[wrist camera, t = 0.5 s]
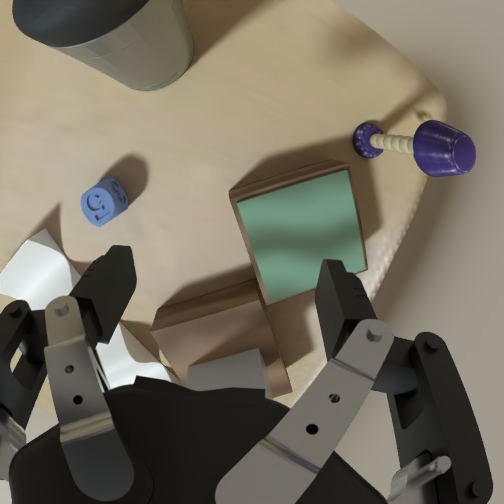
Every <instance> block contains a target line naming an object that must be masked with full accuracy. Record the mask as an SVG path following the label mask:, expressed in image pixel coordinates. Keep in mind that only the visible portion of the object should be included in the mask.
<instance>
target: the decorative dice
mask: <svg viewBox="0 0 504 504" xmlns="http://www.w3.org/2000/svg"><path fill="white" fill-rule="evenodd" d="M128 205H129V203H128V198H127V195H126V193H125V191H124V189H123V187H122V186H121V184H120V183H119V182H118V181H117V180H116V179H114V178H111V177H109V178H107V179H105V180H103V181H101V182H100V183H98V184H96V185H95V186H93V187H92V188H90V189H89V190H88V191H86V192H85V193H84V194H83V195H82V197H81V208H82V211H83V213H84V215H85V217H86V218H87V220H88V221H89V222H90V223H91V224H93V225H95V226H98V227H101V226H102V225H104V224H105V223H107V222H108V221H110V220H111V219H113V218H114V217H116V216H117V215H119V214H120V213H122V212H123V211H125V210H126V209H128Z"/></svg>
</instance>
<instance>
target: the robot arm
mask: <svg viewBox="0 0 504 504" xmlns="http://www.w3.org/2000/svg"><path fill="white" fill-rule="evenodd" d="M12 12H13V18H14V22H15V24H16V26H17V27H18V28H19V30H20V31H21V32H22V33H24V34H25V35H27V36H28V37H30V38H32V39H34V40H36V41H39V42H41V43H43V44H45V45H47V46H49V47H51V48H54V49H56V50H58V51H60V52H62V53H64V54H66V55H69V56H71V57H73V58H75V59H77V60H79V61H81V62H83V63H85V64H87V65H89V66H91V67H93V68H94V69H96V70H98V71H100V72H102V73H104V74H106V75H108V76H110V77H111V78H113V79H115V80H117V81H119V82H121V83H122V84H124V85H126V86H128V87H130V88H132V89H135V90H140V91H151V90H157V89H160V88H163V87H165V86H167V85H169V84H171V83H173V82H174V81H176V80H177V79H178V78H179V77H180V76H181V75H182V74H183V73H184V72H185V71H186V69H187V68H188V66H189V65H190V63H191V60H192V58H193V52H194V43H193V39H192V35H191V32H190V28H189V24H188V21H187V17H186V14H185V10H184V7H183V3H182V0H13V6H12ZM136 283H137V277H136V271H135V266H134V260H133V254H132V249H131V247H130V246H122V245H113V246H112V247H111V248H110V249H109V250H108V252H107V253H106V254H105V256H101V257H99V258H98V259H96V260H95V261H93V262H92V264H91V265H90V266H89V268H88V269H87V270H86V272H85V273H84V274H83V277H81V278H80V280H79V281H78V282H77V284H76V285H75V286H74V288H73V289H72V291H71V292H70V293H69V295H68V296H60V297H57V298H55V299H53V300H52V301H51V302H49V304H48V305H47V306H46V308H45V309H42V310H31V308H30V306H29V304H28V302H27V301H25V300H16V301H13V302H11V303H10V304H8V305H7V306H6V307H5V308H4V310H3V311H2V312H1V314H0V480H6V481H8V482H9V485H10V490H11V497H12V504H487V503H488V501H489V499H490V498H491V495H492V492H493V481H492V476H491V472H490V468H489V463H488V460H487V456H486V452H485V448H484V445H483V441H482V438H481V434H480V431H479V428H478V425H477V422H476V419H475V416H474V413H473V410H472V407H471V404H470V401H469V399H468V396H467V393H466V391H465V388H464V385H463V383H462V380H461V378H460V375H459V373H458V371H457V368H456V366H455V363H454V361H453V359H452V357H451V354H450V352H449V350H448V348H447V346H446V343H445V342H444V341H443V340H442V338H440V337H439V336H438V335H436V334H434V333H431V332H422V333H419V334H418V335H417V336H416V338H415V339H414V341H412V340H407V339H403V338H398V337H395V336H394V334H393V332H392V330H391V328H390V327H389V326H388V325H386V324H385V323H383V322H382V321H379V320H377V317H376V315H375V312H374V310H373V308H372V305H371V303H370V300H369V298H368V297H367V293H366V291H365V290H364V287H363V284H362V282H361V280H360V279H359V278H358V277H357V276H356V275H355V274H354V273H353V272H347V271H346V269H345V266H344V264H343V262H342V260H336V259H323V261H322V264H321V268H320V273H319V277H318V282H317V286H316V291H315V304H316V309H317V313H318V318H319V322H320V327H321V332H322V337H323V342H324V347H325V352H326V357H327V362H328V363H327V364H326V365H325V367H324V368H323V369H322V371H321V372H320V373H319V375H318V376H317V377H316V378H315V380H314V381H313V382H312V384H311V385H310V386H309V387H308V389H307V390H306V391H305V392H304V394H303V395H302V396H301V397H300V399H299V400H298V401H297V402H296V403H295V405H294V406H293V407H292V408H291V409H290V408H289V407H287V406H285V405H283V404H281V403H279V402H277V401H274V400H271V399H268V398H265V389H257V388H238V387H230V388H222V389H215V390H206V391H195V390H192V389H189V388H186V387H183V386H181V385H178V384H175V383H172V382H170V381H167V380H163V379H156V378H150V377H144V376H138V375H136V378H135V381H134V384H128V385H122V386H118V387H115V388H113V389H111V387H110V384H109V382H108V379H107V377H106V374H105V371H104V369H103V366H102V363H101V360H100V357H99V354H98V352H97V349H96V346H97V344H98V343H103V344H109V342H110V340H111V338H112V336H113V334H114V331H115V329H116V327H117V325H118V323H119V321H120V319H121V317H122V315H123V313H124V311H125V309H126V307H127V305H128V303H129V301H130V299H131V297H132V295H133V293H134V291H135V288H136ZM18 347H19V349H20V351H21V352H22V355H21V357H20V359H19V361H18V363H17V365H16V367H15V369H14V371H13V373H12V372H11V369H10V362H11V359H12V357H13V356H14V354H15V352H16V350H17V348H18ZM47 373H48V378H49V383H50V388H51V393H52V397H53V402H54V406H55V410H56V414H57V418H58V421H59V423H58V424H57V425H55V426H54V427H52V428H51V429H49V430H48V431H46V432H44V433H43V434H41V435H40V436H38V437H37V438H35V439H34V440H32V441H30V442H29V443H26V434H25V429H26V426H27V423H28V420H29V418H30V415H31V412H32V410H33V407H34V405H35V402H36V399H37V397H38V395H39V392H40V390H41V387H42V385H43V383H44V380H45V378H46V376H47ZM370 390H374V391H379V392H384V393H386V394H387V399H388V403H389V408H390V412H391V417H392V422H393V427H394V432H395V437H396V443H397V449H398V456H399V461H400V468H401V469H400V470H399V471H397V472H396V474H395V475H394V476H393V478H392V481H391V490H390V494H389V497H388V499H387V500H386V499H385V498H384V496H383V495H381V493H380V492H379V491H377V490H376V489H375V488H374V487H373V486H372V485H371V484H369V483H368V482H367V481H366V480H365V479H364V478H363V477H362V476H361V475H359V474H358V473H357V472H356V471H355V470H354V469H353V468H352V467H351V466H350V465H349V464H348V463H347V462H345V461H344V460H343V459H342V458H341V457H340V456H339V455H338V454H337V453H336V452H335V451H334V449H335V448H336V446H337V445H338V443H339V442H340V440H341V439H342V437H343V435H344V434H345V432H346V431H347V429H348V428H349V426H350V424H351V423H352V421H353V419H354V418H355V416H356V414H357V413H358V411H359V409H360V407H361V405H362V404H363V402H364V400H365V399H366V397H367V395H368V393H369V391H370Z"/></svg>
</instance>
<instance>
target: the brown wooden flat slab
mask: <svg viewBox="0 0 504 504" xmlns="http://www.w3.org/2000/svg"><path fill="white" fill-rule="evenodd" d="M150 333H151V335H152V336H153V338H154V340H155V341H156V343H157V345H158V346H159V348H160V350H161V351H162V353H163V354H164V356H165V358H166V359H167V361H168V362H169V364H170V365H171V367H172V368H173V370H174V371H175V373H176V374H177V376H178V377H179V379H180V380H181V382H182V383H183V385H184V386H185V387H186V380H187V371H188V367H189V366H193V365H197V364H201V363H205V362H209V361H212V360H216V359H220V358H224V357H227V356H231V355H235V354H238V353H242V352H245V351H248V350H252V349H255V348H259V350H260V353H261V355H262V358H263V360H264V362H265V365H266V367H267V372H268V377H269V382H270V387H271V392H272V397H273V398H274V397H278V396H281V395H284V394H288V393H291V392H293V391H292V388H291V384H290V380H289V377H288V373H287V370H286V367H285V364H284V361H283V358H282V355H281V353H280V350H279V347H278V344H277V341H276V339H275V336H274V333H273V330H272V327H271V325H270V322H269V319H268V316H267V313H266V310H265V308H264V305H263V302H262V299H261V296H260V293H259V291H258V288H257V285H256V282H255V279H253V280H250V281H247V282H244V283H240V284H237V285H234V286H231V287H228V288H225V289H222V290H219V291H215V292H212V293H209V294H206V295H203V296H200V297H196V298H193V299H190V300H187V301H183V302H180V303H177V304H174V305H170V306H167V307H164V308H160V309H157V312H156V315H155V318H154V321H153V324H152V327H151V330H150Z"/></svg>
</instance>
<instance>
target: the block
mask: <svg viewBox="0 0 504 504" xmlns="http://www.w3.org/2000/svg"><path fill="white" fill-rule="evenodd" d="M230 387H238V388H257V389H265V398H268V399H271V400H273V397H272V392H271V387H270V382H269V377H268V372H267V367H266V365H265V362H264V360H263V358H262V355H261V353H260V350H259V348H255V349H252V350H248V351H245V352H242V353H238V354H235V355H231V356H227V357H224V358H220V359H216V360H212V361H209V362H205V363H201V364H197V365H193V366H189V367H188V371H187V380H186V388H189V389H192V390H195V391H206V390H215V389H222V388H230Z"/></svg>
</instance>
